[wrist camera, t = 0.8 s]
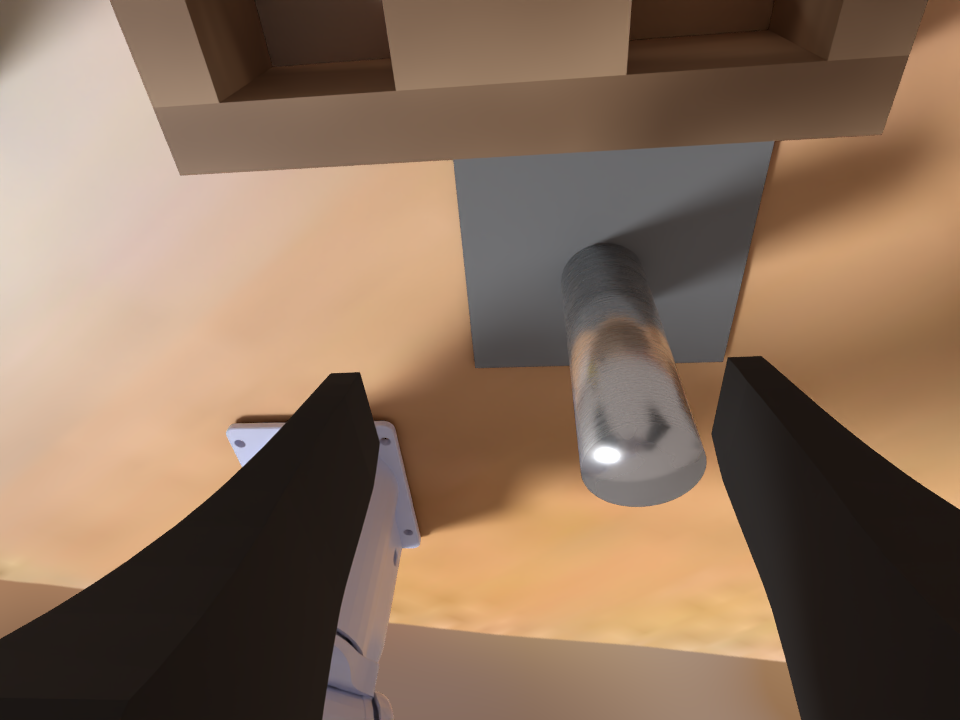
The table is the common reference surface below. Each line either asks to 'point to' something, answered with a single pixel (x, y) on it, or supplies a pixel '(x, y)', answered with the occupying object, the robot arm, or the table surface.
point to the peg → (625, 384)
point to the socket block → (511, 82)
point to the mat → (607, 241)
